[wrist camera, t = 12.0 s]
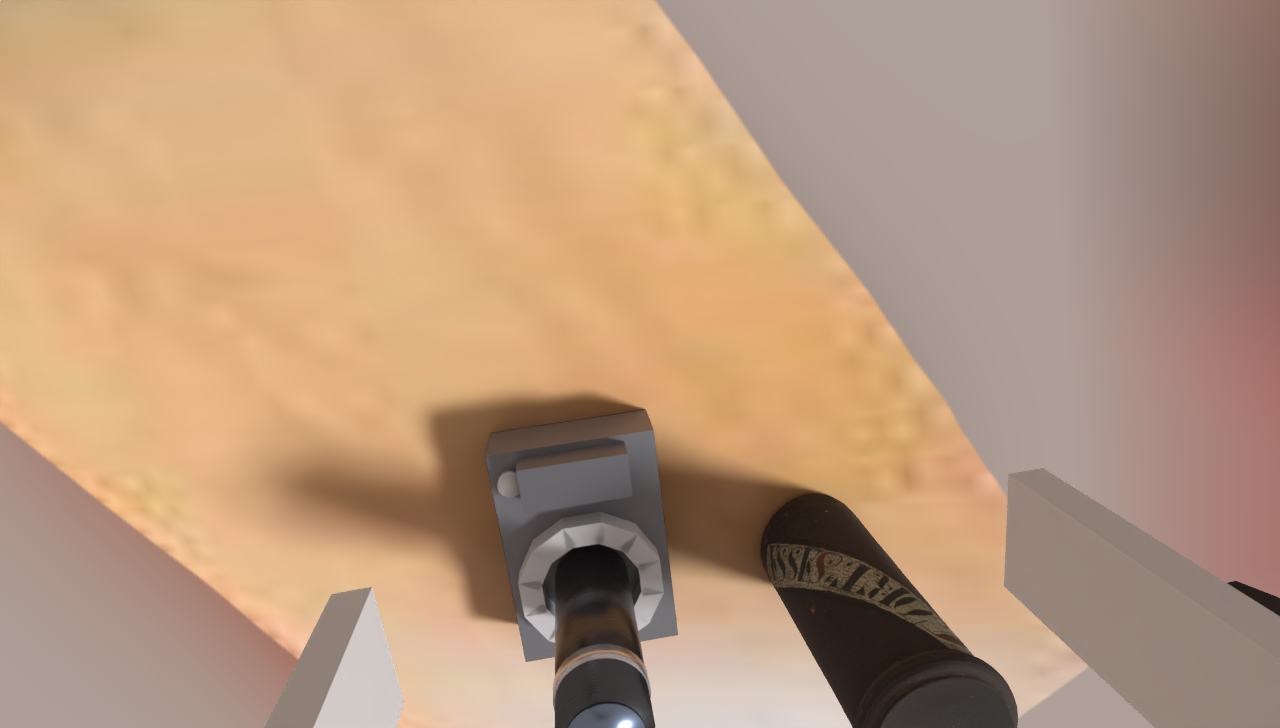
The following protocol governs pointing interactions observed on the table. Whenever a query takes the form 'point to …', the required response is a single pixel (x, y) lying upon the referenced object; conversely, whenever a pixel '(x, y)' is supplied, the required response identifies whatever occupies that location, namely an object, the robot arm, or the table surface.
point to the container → (875, 627)
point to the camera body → (581, 515)
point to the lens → (598, 644)
